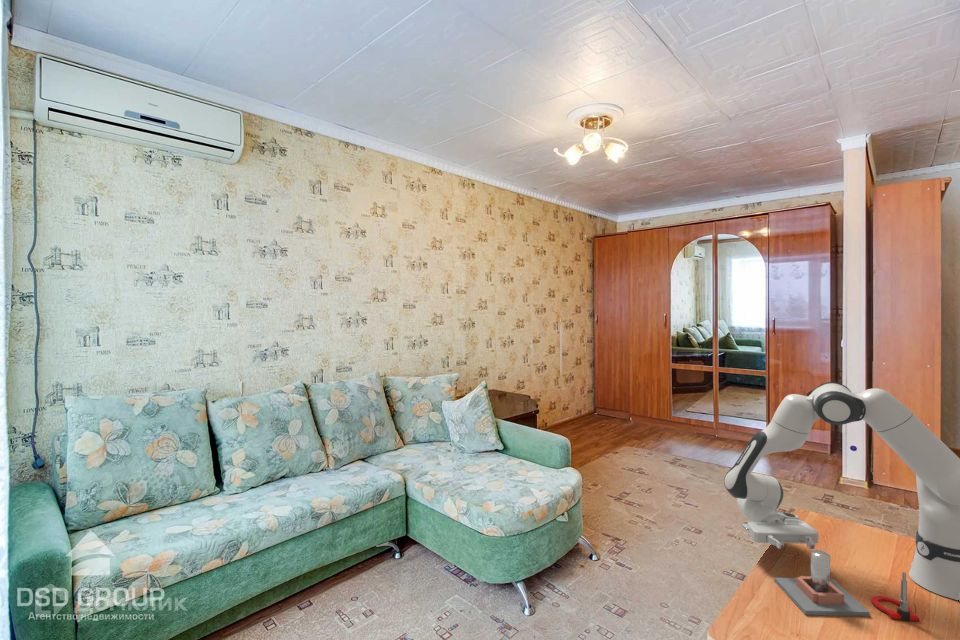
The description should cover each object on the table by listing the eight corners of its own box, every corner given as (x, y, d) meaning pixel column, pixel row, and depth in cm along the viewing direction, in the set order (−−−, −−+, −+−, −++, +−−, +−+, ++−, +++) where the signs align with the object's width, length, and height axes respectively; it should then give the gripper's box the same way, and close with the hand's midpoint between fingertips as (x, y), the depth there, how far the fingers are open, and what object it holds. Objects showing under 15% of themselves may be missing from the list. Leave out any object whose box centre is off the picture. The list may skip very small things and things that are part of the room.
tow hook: (864, 598, 128) (888, 620, 119) (864, 554, 128) (888, 573, 119) (896, 600, 127) (923, 623, 118) (897, 556, 127) (924, 575, 118)
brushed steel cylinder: (821, 588, 130) (823, 549, 129) (832, 599, 126) (834, 558, 125) (806, 588, 131) (807, 549, 130) (816, 598, 126) (817, 558, 125)
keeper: (832, 582, 135) (832, 570, 134) (869, 616, 121) (870, 603, 120) (774, 581, 136) (774, 569, 135) (805, 614, 122) (805, 601, 122)
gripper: (739, 514, 152) (763, 536, 138) (801, 514, 150) (831, 537, 137) (739, 531, 152) (762, 555, 138) (800, 532, 151) (830, 557, 137)
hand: (797, 546), depth 138 cm, fingers open, 8 cm apart
